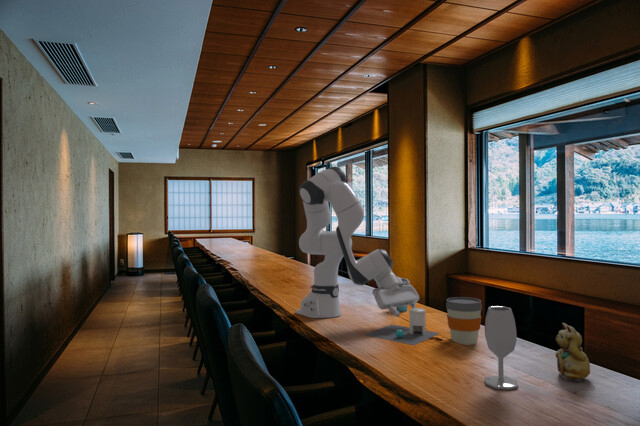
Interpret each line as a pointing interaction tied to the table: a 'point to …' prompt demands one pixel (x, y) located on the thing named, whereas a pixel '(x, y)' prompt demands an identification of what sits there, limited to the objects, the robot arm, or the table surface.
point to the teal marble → (399, 333)
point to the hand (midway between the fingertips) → (406, 313)
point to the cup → (402, 308)
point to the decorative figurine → (571, 355)
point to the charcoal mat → (407, 338)
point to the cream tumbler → (417, 320)
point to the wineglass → (500, 343)
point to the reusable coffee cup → (464, 319)
